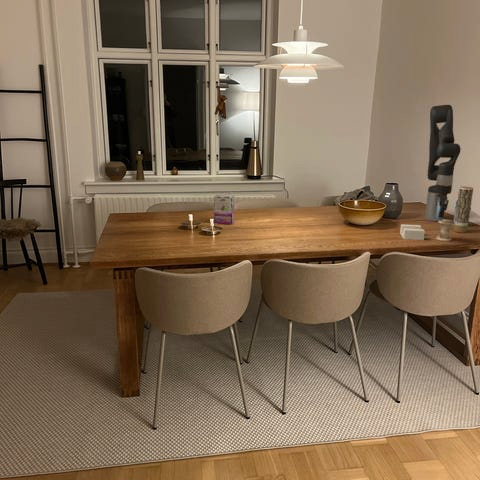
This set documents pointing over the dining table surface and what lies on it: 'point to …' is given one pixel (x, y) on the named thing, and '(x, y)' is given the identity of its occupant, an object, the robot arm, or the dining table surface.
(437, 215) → the tab peg
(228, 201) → the candy bar box
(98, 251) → the dining table surface
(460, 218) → the bark textured pillar
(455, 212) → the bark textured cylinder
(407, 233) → the notched board
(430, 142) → the robot arm
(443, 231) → the bobbin
